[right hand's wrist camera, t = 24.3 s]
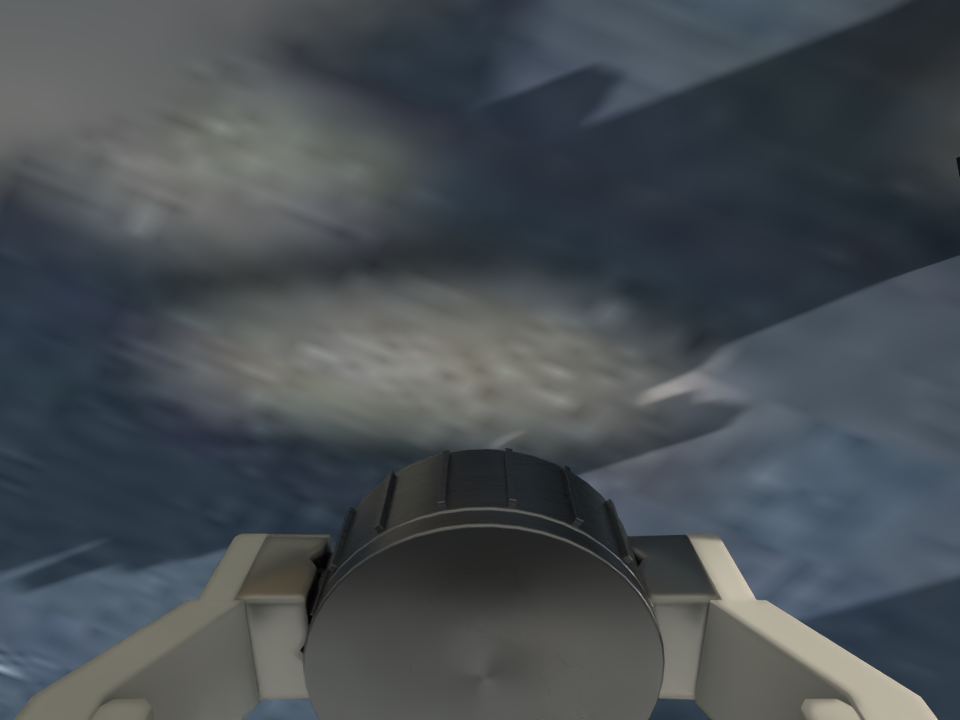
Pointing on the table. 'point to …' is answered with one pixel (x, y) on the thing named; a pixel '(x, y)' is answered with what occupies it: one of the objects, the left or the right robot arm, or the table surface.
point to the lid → (483, 600)
